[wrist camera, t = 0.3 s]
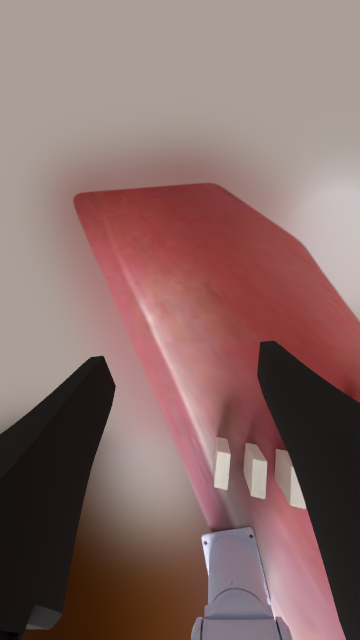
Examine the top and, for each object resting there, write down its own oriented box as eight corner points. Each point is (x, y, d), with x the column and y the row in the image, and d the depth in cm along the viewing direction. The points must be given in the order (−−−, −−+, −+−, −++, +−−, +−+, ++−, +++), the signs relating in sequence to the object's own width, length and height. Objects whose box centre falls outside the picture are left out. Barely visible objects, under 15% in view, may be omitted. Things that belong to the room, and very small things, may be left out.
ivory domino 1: (227, 438, 36) (230, 454, 29) (224, 467, 35) (227, 490, 28) (216, 436, 36) (217, 451, 30) (213, 465, 35) (214, 487, 29)
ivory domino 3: (287, 450, 34) (306, 470, 28) (286, 481, 33) (305, 509, 27) (275, 448, 35) (291, 466, 28) (274, 479, 34) (290, 505, 27)
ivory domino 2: (256, 444, 35) (267, 461, 28) (254, 474, 34) (265, 499, 28) (245, 442, 36) (253, 458, 29) (243, 471, 35) (250, 496, 28)
